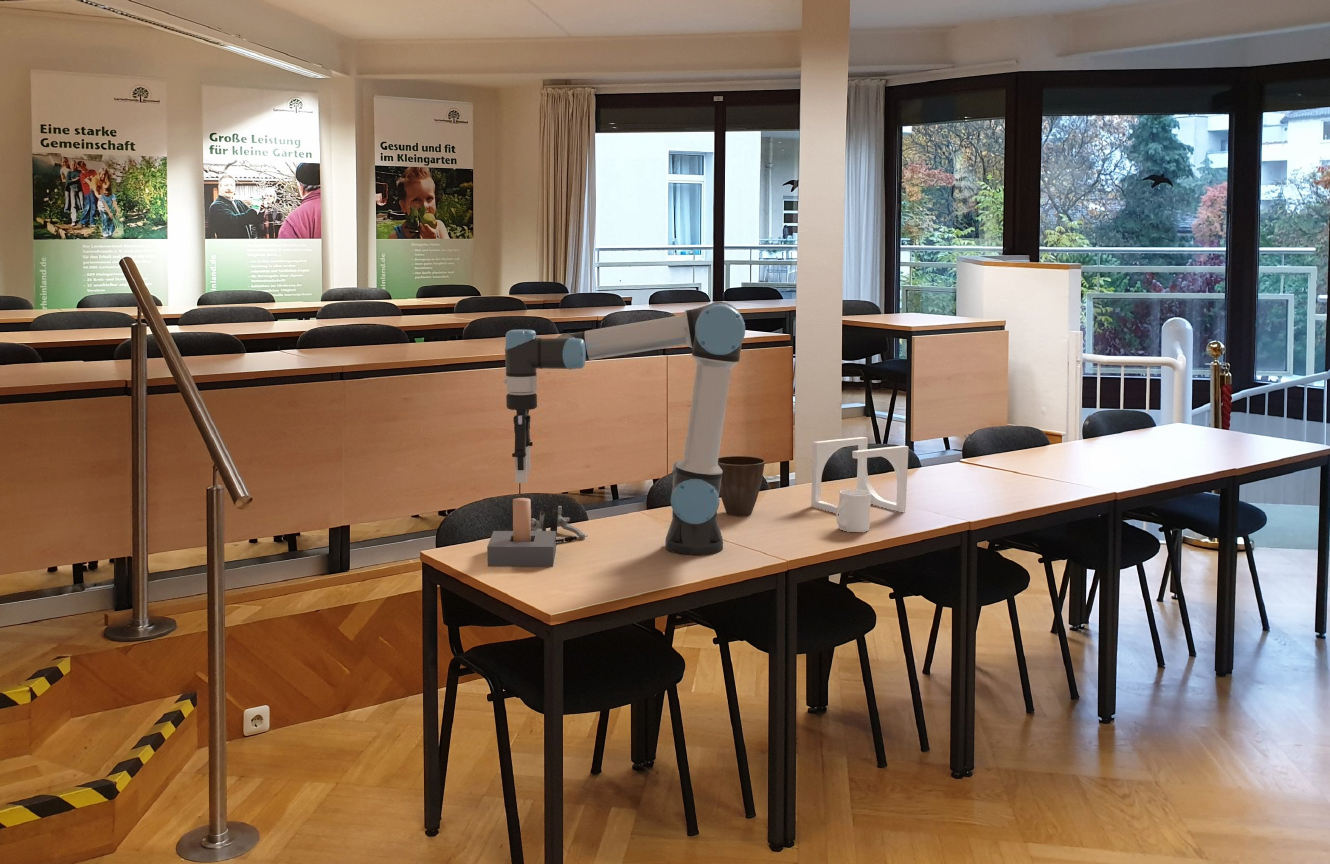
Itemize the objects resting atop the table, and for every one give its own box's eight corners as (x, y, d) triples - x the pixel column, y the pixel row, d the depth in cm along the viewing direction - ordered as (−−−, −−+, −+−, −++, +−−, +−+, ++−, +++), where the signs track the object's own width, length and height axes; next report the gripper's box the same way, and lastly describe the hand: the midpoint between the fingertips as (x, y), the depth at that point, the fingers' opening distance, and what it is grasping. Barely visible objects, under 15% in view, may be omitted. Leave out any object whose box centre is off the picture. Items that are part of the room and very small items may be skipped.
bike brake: (518, 530, 323) (552, 558, 307) (520, 507, 321) (554, 533, 305) (562, 525, 330) (597, 552, 315) (564, 502, 329) (600, 528, 313)
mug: (823, 530, 331) (825, 493, 329) (851, 524, 338) (853, 487, 337) (847, 536, 324) (849, 498, 323) (875, 530, 332) (877, 492, 330)
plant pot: (713, 518, 343) (714, 464, 341) (713, 507, 358) (713, 455, 356) (764, 519, 343) (766, 465, 340) (762, 508, 358) (763, 456, 355)
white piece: (905, 512, 355) (908, 446, 352) (854, 519, 345) (857, 452, 342) (861, 499, 372) (863, 436, 369) (811, 506, 361) (813, 441, 358)
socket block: (555, 549, 307) (555, 530, 306) (553, 566, 291) (553, 546, 290) (493, 549, 306) (493, 530, 305) (487, 566, 290) (487, 546, 289)
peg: (531, 555, 301) (531, 497, 298) (530, 560, 296) (530, 501, 294) (513, 555, 300) (513, 497, 298) (512, 560, 296) (512, 501, 294)
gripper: (510, 386, 304) (511, 468, 307) (501, 399, 279) (503, 487, 283) (539, 386, 304) (541, 467, 307) (533, 399, 280) (535, 487, 283)
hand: (523, 477), depth 295 cm, fingers open, 13 cm apart
